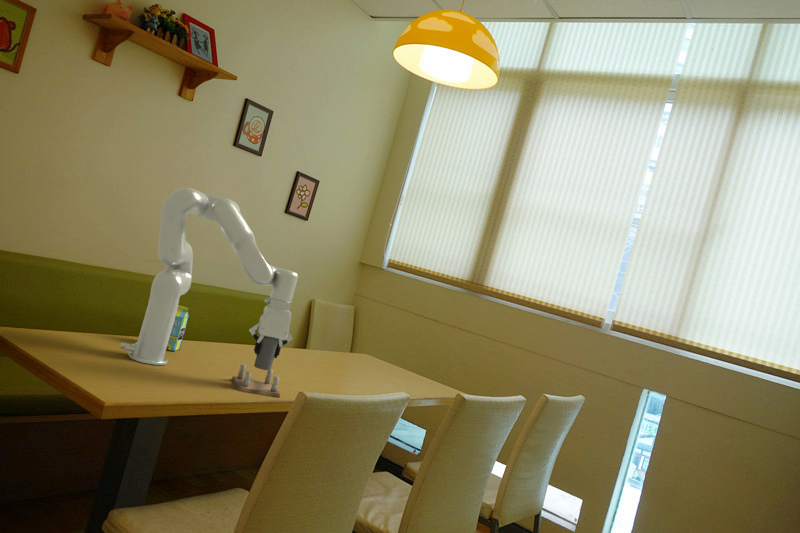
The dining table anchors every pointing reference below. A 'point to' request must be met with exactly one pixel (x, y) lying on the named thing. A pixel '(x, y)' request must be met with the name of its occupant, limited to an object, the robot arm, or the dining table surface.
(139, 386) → the dining table surface
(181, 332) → the carton
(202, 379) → the dining table surface
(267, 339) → the bottle
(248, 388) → the pegboard
